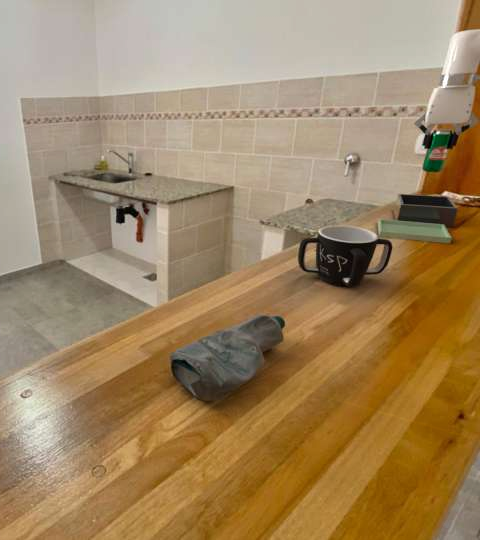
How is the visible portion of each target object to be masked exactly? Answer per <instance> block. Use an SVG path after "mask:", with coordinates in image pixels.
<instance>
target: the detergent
mask: <svg viewBox="0 0 480 540" xmlns="http://www.w3.org/2000/svg"><path fill="white" fill-rule="evenodd" d="M285 326H286V322H285V320H284V318H283V317H282V316H279V315H275V316H274V315H273V316H270V315H268V314H265V313H264V314H263V313H259V314H255V315H252V316H251V317H249V318H247V319H245V320H244V321H242V322H240V323H238V324H236V325H233V326H231V327H228V328H222V329H218V330H216V331H214V332H212V333H210V334H209V335H205V336H203V337H201V338H199V339H198V340H196V341H193V342H191V343H188V344H186V345H184V346H182V347H180V348H178V349H176V350H174V351H172V353H171V354H170V355H169V362H170V363H169V364H170V369H171V373H172V376H173V377H174V378H175V379H176V380H177V382H179V383H180V385H181V386H183V387H184V388H185V389H186V390H187V391H188V392H189V393H190V394H191V395H192V396H194V397H195V398H197V399H199V400H201V401H216V400H218V399H221V398H222V397H224V396H226V395H227V394H229V393H231V392H232V391H234V390H235V389H237V388H238V387H240V386H242V385H243V384H246V383H247V382H248V381H250V380H252V378H254V377H255V375H256V374H257V373H258V371H259V370H260V369H261V368H262V366H264V364H265V358H264V355H263V353H264V352H266V351H267V350H269V349H271V348H274V347H276V346H277V345H279V344H281V343H282V342H284V340H285V336H284V332H283V329H284V328H285Z"/></svg>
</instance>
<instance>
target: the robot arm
mask: <svg viewBox="0 0 480 540" xmlns="http://www.w3.org/2000/svg"><path fill="white" fill-rule="evenodd" d="M451 36H452V37H451V38H450V41H449V45H448V49H447V53H446V57H445V60H444V64H443V68H442V70H441V76H440V78H439V81H438V82H439V83H438V86H437V87H434V89H433V91H432V93H431V95H430V98H429V101H428V104H427V107H426V110H425V112H424V113H423V114H421V116H419V117H418V118H417V119H416V120H414V122H413V124H414V125H415V126H416V127H417V128H418V129H419V130H420V131H422V133H423V134H424V137H423V140H422V144H421V146H422V147H423V148H424V150H427V149H428V147H429V143H430V139H431V133H432V132H433V130H434V128H435V126H437V125H438V126H439V125H441V126H443V125H453V132H452V133H453V135H452V139H451V142H450V146H449V149H448V150H453V148H454V147H456V146H457V143H458V140H459V138H460V135H461V134H462V133H464V132H465V131H467V130H469V129H470V128H472V127H474V126H475V125H477V124H478V123H480V122H479V119H478V118H477V117H476V115H475V113H474V112H473V106H474V101H475V97H476V96H475V95H476V85H474V84H475V83H476V82H480V75H479V74H478V73H477V72H478V70H479V69H478V68H479V65H480V28H479V29H466V30H461V31H457V32H455V33H454V34H453V35H451ZM422 122H424V123H425V124H426V125H427V126H425V125H424V124H423V123H422Z"/></svg>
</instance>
